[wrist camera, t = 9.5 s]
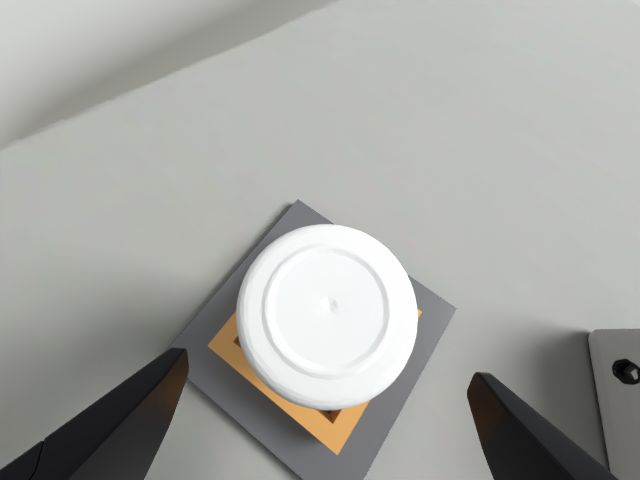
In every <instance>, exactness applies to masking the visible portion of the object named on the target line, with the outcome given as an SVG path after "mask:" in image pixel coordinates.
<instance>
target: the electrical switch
mask: <svg viewBox="0 0 640 480" xmlns="http://www.w3.org/2000/svg"><path fill="white" fill-rule="evenodd" d="M588 342H589V348H590V354H591V360H592V366H593V372H594V378H595V384H596V389H597V395H598V401H599V407H600V413H601V419H602V425H603V431H604V437H605V442H606V448H607V454H608V460H609V466H610V472H611V473H612V474H613V475H614V476H615V477H617V478H618V479H619V480H640V329H600V330H595V331H593V332H592V333H590V335H589V338H588Z"/></svg>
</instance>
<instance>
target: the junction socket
mask: <svg viewBox="0 0 640 480" xmlns="http://www.w3.org/2000/svg"><path fill="white" fill-rule="evenodd" d="M318 224H333V223H332V222H330V221H329V220H327V219H326V218H324V217H323V216H322V215H320V214H319V213H317V212H316V211H314V210H313V209H311V208H310V207H308V206H307V205H306V204H304V203H303V202H301V201H300V200H298V199H297V201H296V202H295V203H294V204H293V205H292V206H291V208H290V209H289V210H288V211H287V212H286V213H285V214H284V216H283V217H282V218H281V219H280V220H279V221H278V222H277V224H276V225H275V226H274V227H273V228H272V229H271V230H270V232H269V233H268V234H267V235H266V236H265V237H264V238H263V240H262V241H261V242H260V243H259V244H258V245H257V247H256V248H255V249H254V250H253V251H252V252H251V253H250V255H249V256H248V257H247V258H246V259H245V260H244V261H243V263H242V264H241V265H240V266H239V267H238V268H237V269H236V271H235V272H234V273H233V274H232V275H231V276H230V278H229V279H228V280H227V281H226V282H225V283H224V284H223V286H222V287H221V288H220V289H219V290H218V291H217V292H216V294H215V295H214V296H213V297H212V298H211V299H210V300H209V302H208V303H207V304H206V305H205V306H204V307H203V309H202V310H201V311H200V312H199V313H198V314H197V315H196V317H195V318H194V319H193V320H192V321H191V322H190V323H189V325H188V326H187V327H186V328H185V329H184V330H183V331H182V333H181V334H180V335H179V336H178V337H177V338H176V340H175V341H174V342H173V343H172V344H171V345H170V346H169V348H168V349H170V348H171V347H184V348H186V349H187V353H188V361H189V373H188V376H187V378H188V379H189V380H190V381H191V382H193V383H194V384H195V385H196V386H197V387H198V388H199V389H200V390H202V391H203V392H204V393H205V394H206V395H207V396H208V397H210V398H211V399H212V400H213V401H214V402H215V403H216V404H218V405H219V406H220V407H221V408H222V409H223V410H224V411H226V412H227V413H228V414H229V415H230V416H231V417H232V418H233V419H235V420H236V421H237V422H238V423H239V424H240V425H241V426H243V427H244V428H245V429H246V430H247V431H248V432H249V433H251V434H252V435H253V436H254V437H255V438H256V439H257V440H258V441H260V442H261V443H262V444H263V445H264V446H265V447H266V448H268V449H269V450H270V451H271V452H272V453H273V454H274V455H276V456H277V457H278V458H279V459H280V460H281V461H282V462H283V463H285V464H286V465H287V466H288V467H289V468H290V469H291V470H293V471H294V472H295V473H296V474H297V475H298V476H299V477H301V478H302V479H303V480H363V479H364V477H365V475H366V474H367V472H368V470H369V468H370V466H371V464H372V463H373V461H374V459H375V457H376V455H377V453H378V452H379V450H380V448H381V446H382V444H383V442H384V441H385V439H386V437H387V435H388V433H389V431H390V430H391V428H392V426H393V424H394V422H395V420H396V419H397V417H398V415H399V413H400V411H401V409H402V408H403V406H404V404H405V402H406V400H407V398H408V397H409V395H410V393H411V391H412V389H413V388H414V386H415V384H416V382H417V380H418V378H419V377H420V375H421V373H422V371H423V369H424V367H425V366H426V364H427V362H428V360H429V358H430V356H431V355H432V353H433V351H434V349H435V347H436V345H437V344H438V342H439V340H440V338H441V336H442V334H443V333H444V331H445V329H446V327H447V325H448V323H449V322H450V320H451V318H452V316H453V314H454V312H455V311H456V309H457V308H455V307H454V306H452V305H451V304H449V303H448V302H446V301H445V300H444V299H442V298H441V297H439V296H438V295H436V294H435V293H433V292H432V291H430V290H429V289H428V288H426V287H425V286H423V285H422V284H420V283H419V282H417V281H416V280H415V279H413V278H412V277H410V276H409V275H407V276H408V278H409V280H410V282H411V285H412V287H413V290H414V294H415V298H416V304H417V311H418V323H417V334H416V339H415V344H414V347H413V350H412V352H411V355H410V357H409V359H408V361H407V363H406V365H405V367H404V369H403V370H402V371H401V373H400V374H399V375H398V377H397V378H396V379H395V381H394V382H393V383H392V384H391V385H390V386H389V387H387V388H386V389H385V390H384V391H383V392H381V393H380V394H378V395H377V396H375V397H374V398H372V399H371V400H369V401H367V402H365V403H362V404H360V405H358V406H354V407H350V408H346V409H340V410H327V411H325V410H316V409H310V408H306V407H302V406H299V405H296V404H294V403H291V402H289V401H287V400H285V399H283V398H282V397H280V396H279V395H277V394H276V393H274V392H273V391H272V390H271V389H269V388H268V387H267V386H266V385H265V384H264V383H263V382H262V381H261V380H260V379H259V378H258V377H257V375H256V374H255V372H254V371H253V369H252V368H251V367H250V365H249V363H248V361H247V359H246V357H245V355H244V353H243V350H242V348H241V345H240V342H239V337H238V331H237V324H236V308H237V300H238V295H239V291H240V287H241V285H242V282H243V279H244V277H245V275H246V273H247V271H248V269H249V267H250V266H251V264H252V263H253V262H254V260H255V259H256V258H257V256H258V255H259V254H260V253H261V252H262V251H263V250H264V249H265V248H266V247H267V246H268V245H269V244H271V243H272V242H273V241H275V240H276V239H277V238H279V237H281V236H283V235H284V234H286V233H288V232H291V231H293V230H295V229H298V228H301V227H306V226H311V225H318ZM333 225H335V224H333ZM168 349H167V350H168ZM167 350H166V351H167Z"/></svg>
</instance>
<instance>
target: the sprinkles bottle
mask: <svg viewBox="0 0 640 480" xmlns="http://www.w3.org/2000/svg"><path fill="white" fill-rule="evenodd" d="M417 323H418V311H417V304H416V298H415V294H414V290H413V287H412V285H411V282H410V280H409V278H408V276H407V274H406V272H405V270H404V269H403V267H402V266H401V264H400V262H399V261H398V260H397V259H396V257H395V256H394V255H393V254H392V253H391V252H390V251H389V250H388V249H387V248H386V247H385V246H384V245H383V244H381V243H380V242H379V241H377V240H376V239H374V238H373V237H371V236H369V235H367V234H365V233H364V232H361V231H359V230H356V229H353V228H349V227H346V226H341V225H333V224H318V225H311V226H306V227H301V228H298V229H295V230H293V231H291V232H288V233H286V234H284V235H283V236H281V237H279V238H277V239H276V240H275V241H273V242H272V243H271V244H269V245H268V246H267V247H266V248H265V249H264V250H263V251H262V252H261V253H260V254H259V255H258V256H257V258H256V259H255V260H254V262H253V263H252V264H251V266H250V267H249V269H248V271H247V273H246V275H245V277H244V279H243V282H242V285H241V287H240V291H239V295H238V300H237V308H236V324H237V331H238V337H239V342H240V345H241V348H242V350H243V353H244V355H245V357H246V359H247V361H248V363H249V365H250V367H251V368H252V369H253V371H254V372H255V374H256V375H257V377H258V378H259V379H260V380H261V381H262V382H263V383H264V384H265V385H266V386H267V387H268V388H269V389H271V390H272V391H273V392H274V393H276V394H277V395H279V396H280V397H282V398H283V399H285V400H287V401H289V402H291V403H294V404H296V405H299V406H302V407H306V408H310V409H316V410H325V411H327V410H340V409H346V408H350V407H354V406H358V405H360V404H362V403H365V402H367V401H369V400H371V399H372V398H374V397H375V396H377V395H378V394H380V393H381V392H383V391H384V390H385V389H386V388H387V387H389V386H390V385H391V384H392V383H393V382H394V381H395V379H396V378H397V377H398V375H399V374H400V373H401V371H402V370H403V369H404V367H405V365H406V363H407V361H408V359H409V357H410V355H411V352H412V350H413V347H414V344H415V339H416V334H417Z"/></svg>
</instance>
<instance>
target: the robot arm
mask: <svg viewBox="0 0 640 480" xmlns="http://www.w3.org/2000/svg"><path fill="white" fill-rule="evenodd" d="M188 373H189V361H188V353H187V349H186V348H184V347H171V348H170V349H168V350H167V351H165V352H164V353H163V354H161V355H160V356H158V357H157V358H156V359H154V360H153V361H152V362H150V363H149V364H147V365H146V366H145V367H143V368H142V369H140V370H139V371H138V372H136V373H135V374H133V375H132V376H131V377H129V378H128V379H127V380H125V381H124V382H122V383H121V384H120V385H118V386H117V387H115V388H114V389H113V390H111V391H110V392H108V393H107V394H106V395H104V396H103V397H102V398H100V399H99V400H97V401H96V402H95V403H93V404H92V405H90V406H89V407H88V408H86V409H85V410H83V411H82V412H81V413H79V414H78V415H77V416H75V417H74V418H72V419H71V420H70V421H68V422H67V423H65V424H64V425H63V426H61V427H60V428H58V429H57V430H56V431H54V432H53V433H52V434H50V435H49V436H47V437H46V438H45V439H44V441H40V442H39V443H37V444H36V445H35V446H33V447H32V448H31V449H29V450H28V451H26V452H25V453H24V454H22V455H21V456H19V457H18V458H16V459H15V460H14V461H12V462H11V463H9V464H8V465H6V466H5V467H4V468H2V469H1V470H0V480H144V478H145V476H146V474H147V472H148V470H149V468H150V466H151V464H152V462H153V459H154V457H155V455H156V453H157V451H158V449H159V447H160V445H161V443H162V441H163V439H164V436H165V434H166V432H167V430H168V428H169V425H170V423H171V420H172V418H173V415H174V412H175V409H176V406H177V404H178V401H179V398H180V395H181V393H182V390H183V387H184V384H185V382H186V379H187V376H188ZM467 397H468V401H469V405H470V408H471V412H472V415H473V419H474V422H475V426H476V429H477V432H478V436H479V439H480V443H481V446H482V449H483V452H484V455H485V457H486V460H487V463H488V465H489V468H490V470H491V473H492V476H493V478H494V480H619V479H618V478H617V477H615V476H614V475H613V474H612V473H610V472H609V471H608V470H607V469H606V468H604V467H603V466H602V465H601V464H600V463H598V462H597V461H596V460H595V459H593V458H592V457H591V456H590V455H589V454H587V453H586V452H585V451H584V450H583V449H581V448H580V447H579V446H578V445H576V444H575V443H574V442H573V441H572V440H570V439H569V438H568V437H567V436H566V435H564V434H563V433H562V432H561V431H559V430H558V429H557V428H556V427H555V426H553V425H552V424H551V423H550V422H549V421H547V420H546V419H545V418H544V417H542V416H541V415H540V414H539V413H538V412H536V411H535V410H534V409H533V408H532V407H530V406H529V405H528V404H527V403H525V402H524V401H523V400H522V399H521V398H519V397H518V396H517V395H516V394H515V393H513V392H512V391H511V390H510V389H509V388H507V387H506V386H505V385H504V384H502V383H501V382H500V381H499V380H498V379H496V378H495V377H494V376H493V375H491V374H490V373H484V372H476V373H475V374H474V375H473V378H472V380H471V382H470V385H469V387H468V390H467Z"/></svg>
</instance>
